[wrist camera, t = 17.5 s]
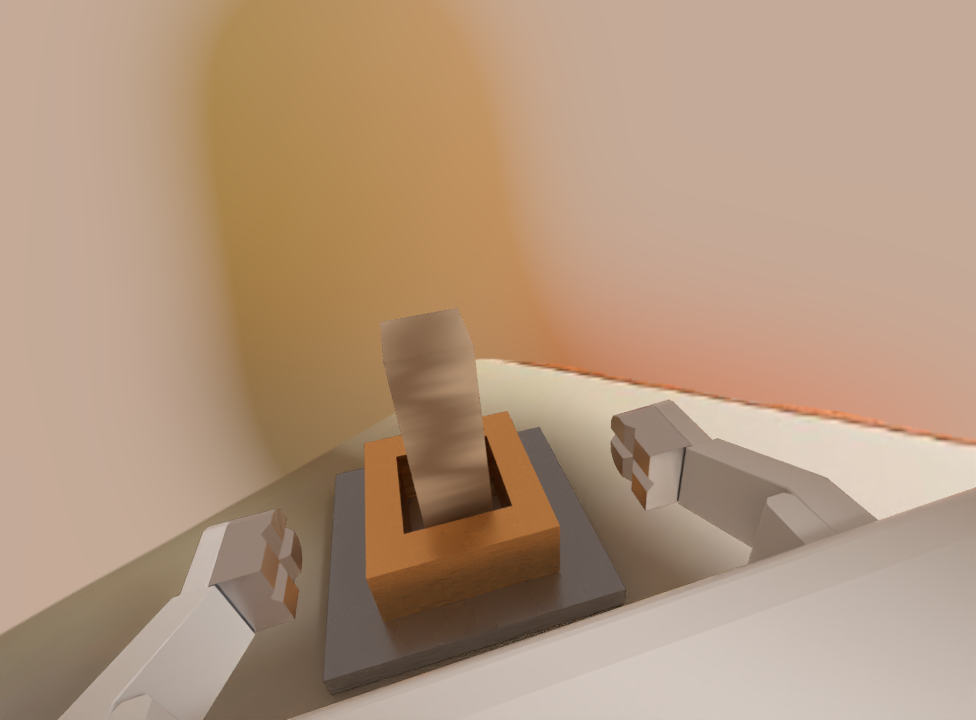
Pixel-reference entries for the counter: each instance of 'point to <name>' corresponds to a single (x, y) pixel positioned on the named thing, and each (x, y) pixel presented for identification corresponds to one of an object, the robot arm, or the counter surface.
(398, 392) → the wedge pin
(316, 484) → the counter surface
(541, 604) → the socket base
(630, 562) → the counter surface
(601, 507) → the counter surface
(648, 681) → the robot arm
